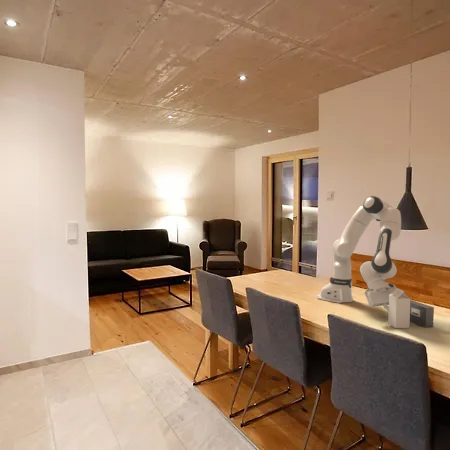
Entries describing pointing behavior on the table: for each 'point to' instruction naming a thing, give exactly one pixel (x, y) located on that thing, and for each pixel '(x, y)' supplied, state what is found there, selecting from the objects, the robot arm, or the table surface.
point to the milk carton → (399, 309)
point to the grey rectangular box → (421, 314)
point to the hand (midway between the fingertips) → (392, 311)
